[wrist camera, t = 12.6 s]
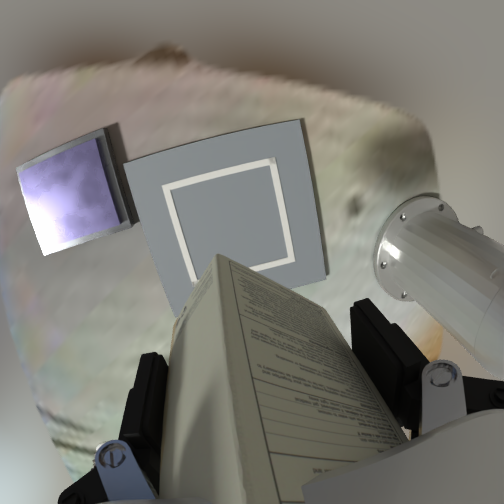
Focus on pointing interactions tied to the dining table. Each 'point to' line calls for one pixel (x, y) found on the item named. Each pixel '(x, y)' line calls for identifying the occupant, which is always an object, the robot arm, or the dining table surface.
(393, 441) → the skincare box
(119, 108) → the dining table surface
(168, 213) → the card
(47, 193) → the ink pad
